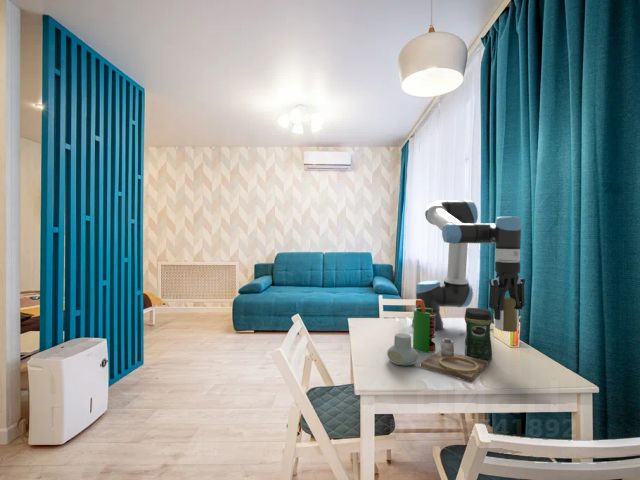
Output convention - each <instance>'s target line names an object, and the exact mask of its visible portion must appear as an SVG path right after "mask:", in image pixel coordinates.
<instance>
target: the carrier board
mask: <svg viewBox="0 0 640 480" xmlns="http://www.w3.org/2000/svg"><path fill="white" fill-rule="evenodd" d="M440 342H441V343H440V350H438V351H437V352H436V353H433V354H432V355H430V356H429V357H427V358H426V359H424V360H422V361H421V362H420V368H423V369H426V370H429V371H430V370H431V371H433V372H437V373H439V374H440V373H441V374H443V375H447V376H451V377H454V378H457V379H461V380H463V381H467V382H470V383H472V382H474V380H475V379H476V378H477V377H478V376H479V375H480V374H481V373H482V372H483V371H484V370H485V369H486V368H487V367H488V366H489V360H488V361H487V360H485V359H476V358H472V357H468V356H466V355H464V354H460V353H455V352H454V350H455V348H454V347H455V346H454V345H455V344H454V343H455V342H454V341H453V340H452V339H451V338H448V337H444V339H441V341H440Z"/></svg>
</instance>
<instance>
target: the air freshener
mask: <svg viewBox="0 0 640 480" xmlns="http://www.w3.org/2000/svg"><path fill="white" fill-rule="evenodd" d="M393 340H394V341H393V343H394V345H391V346H390V347H389V348H388V349H387V352H386V354H387V358H388V359H389V360H390V362H392V363H394V364H395V365H397V366H400V367H401V366H411V365H413V364H415V363H416V362H417V361H418V359H419V353H418V350H415V349H414V348H413V346H412V336H411V335H410V334H408V333H402V332H401V333H396V334H394V339H393Z"/></svg>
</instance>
